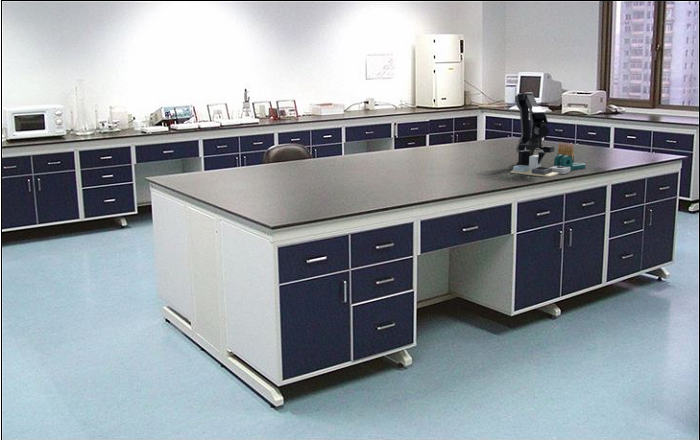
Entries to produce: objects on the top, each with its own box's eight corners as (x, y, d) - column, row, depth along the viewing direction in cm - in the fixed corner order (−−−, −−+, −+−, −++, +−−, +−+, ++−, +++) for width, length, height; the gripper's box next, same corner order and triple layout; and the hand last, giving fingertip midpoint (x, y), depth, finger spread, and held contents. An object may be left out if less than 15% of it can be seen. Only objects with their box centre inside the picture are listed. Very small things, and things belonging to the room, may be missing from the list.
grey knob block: (549, 172, 373) (549, 166, 373) (555, 170, 379) (556, 164, 379) (564, 174, 369) (564, 168, 368) (570, 171, 374) (570, 166, 374)
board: (510, 172, 374) (510, 171, 374) (519, 169, 382) (519, 168, 382) (550, 177, 361) (550, 175, 361) (558, 174, 368) (558, 172, 368)
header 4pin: (531, 173, 368) (531, 169, 367) (539, 170, 374) (539, 166, 374) (544, 174, 363) (544, 170, 363) (551, 172, 370) (552, 168, 369)
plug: (528, 169, 384) (529, 156, 382) (534, 167, 389) (535, 154, 387) (535, 170, 381) (536, 156, 380) (541, 168, 386) (542, 155, 385)
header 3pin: (512, 170, 375) (513, 166, 375) (519, 168, 380) (519, 164, 380) (523, 172, 371) (523, 167, 371) (529, 170, 377) (529, 165, 376)
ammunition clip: (573, 164, 396) (575, 143, 393) (571, 165, 395) (572, 143, 392) (558, 162, 405) (559, 141, 402) (556, 162, 404) (557, 141, 401)
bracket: (562, 171, 378) (563, 156, 376) (553, 169, 383) (554, 154, 381) (588, 168, 386) (589, 153, 384) (578, 166, 391) (579, 152, 389)
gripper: (513, 135, 380) (512, 164, 384) (546, 138, 369) (544, 168, 372) (523, 133, 389) (521, 161, 392) (555, 135, 377) (554, 165, 381)
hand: (535, 164), depth 384 cm, fingers closed on plug, 4 cm apart
